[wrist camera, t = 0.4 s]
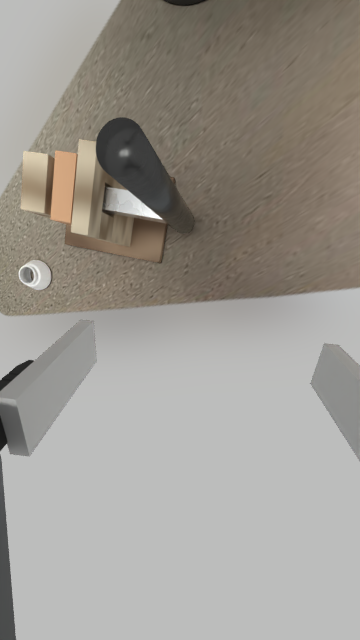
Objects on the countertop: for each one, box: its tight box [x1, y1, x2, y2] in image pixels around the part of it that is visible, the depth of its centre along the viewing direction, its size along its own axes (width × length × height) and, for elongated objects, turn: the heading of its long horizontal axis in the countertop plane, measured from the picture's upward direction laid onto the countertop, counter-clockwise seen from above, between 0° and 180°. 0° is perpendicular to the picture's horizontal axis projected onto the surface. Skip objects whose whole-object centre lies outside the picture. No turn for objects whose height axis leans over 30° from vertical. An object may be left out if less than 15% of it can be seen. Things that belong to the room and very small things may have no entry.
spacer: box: [50, 151, 78, 225], centre depth 30 cm, size 7×2×7 cm, turn 169°
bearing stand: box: [21, 139, 175, 263], centre depth 32 cm, size 12×16×13 cm
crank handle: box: [96, 118, 195, 234], centre depth 25 cm, size 3×18×21 cm, turn 79°
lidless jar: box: [19, 260, 51, 290], centre depth 42 cm, size 5×3×5 cm
